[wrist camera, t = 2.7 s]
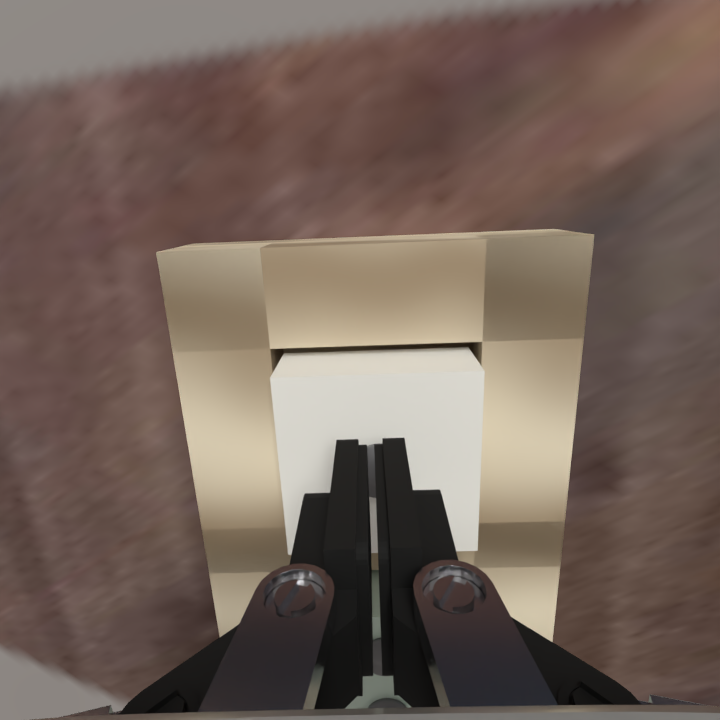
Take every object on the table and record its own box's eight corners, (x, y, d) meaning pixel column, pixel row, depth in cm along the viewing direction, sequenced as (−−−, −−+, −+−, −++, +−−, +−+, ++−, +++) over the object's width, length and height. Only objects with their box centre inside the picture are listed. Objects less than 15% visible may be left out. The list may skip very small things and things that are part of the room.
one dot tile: (463, 506, 16) (478, 555, 14) (298, 510, 17) (287, 559, 14) (468, 347, 15) (486, 373, 12) (284, 353, 15) (268, 380, 13)
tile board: (518, 684, 22) (540, 755, 19) (256, 687, 23) (239, 758, 20) (554, 229, 16) (594, 234, 13) (193, 243, 16) (156, 252, 14)
